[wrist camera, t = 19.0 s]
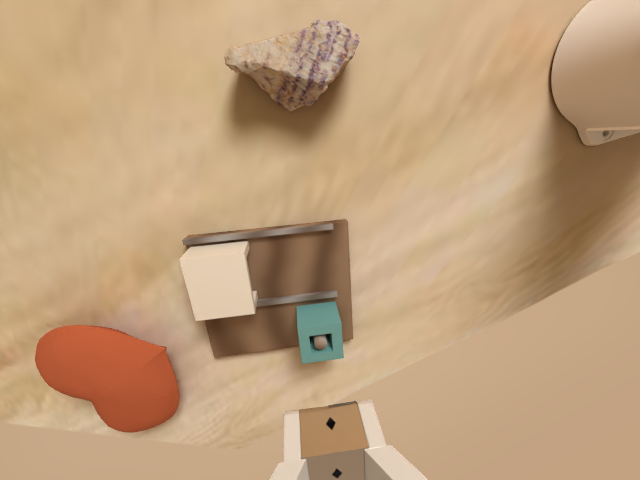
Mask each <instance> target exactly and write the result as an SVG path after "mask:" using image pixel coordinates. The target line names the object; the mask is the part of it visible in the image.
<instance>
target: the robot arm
mask: <svg viewBox="0 0 640 480" xmlns="http://www.w3.org/2000/svg"><path fill="white" fill-rule="evenodd" d="M551 85H552V93H553V97H554V100H555V103H556V105H557V107H558V109H559V111H560V112H561V114H562V115H563V116H564V117H565V118H566V119H567V120H568V121H570V122H571V123H572V124H573V125H574V126H575V127H576V128H577V131H578V133H579V136H580V138H581V141H582V142H583V144H584V145H586V146H593V145H600V144H603V143H606V142H610V141H613V140H616V139H620V138H623V137H626V136H630V135H633V134H636V133H640V0H591V1H590V2H589V3H588V4H587V5H586V6H584V7H583V8H582V9H581V11H580V12H579V13H578V14H577V15H576V16H575V17H574V19H573V20H572V21H571V23H570V24H569V26H568V27H567V29H566V31H565V33H564V34H563V36H562V38H561V40H560V43H559V45H558V48H557V50H556V54H555V57H554V61H553V66H552V75H551ZM269 480H428V479H427V478H426V477H424V476H423V474H421V473H420V472H419V471H418V470H417V469H416V468H415V467H414V466H413V465H412V464H411V463H410V462H409V461H408V460H406V458H404V457H403V456H402V455H401V454H400V453H399V452H398V451H397V450H396V449H395V448H394V447H393V446H391V445H386V442H385V439H384V436H383V433H382V430H381V426H380V424H379V421H378V418H377V414H376V411H375V408H374V405H373V402H372V400H371V399H369V400H362V401H357V402H356V401H353V402H347V403H341V404H335V405H329V406H325V407H317V408H308V409H300V410H293V411H285V412H284V423H283V462H281V463H278V464H277V466H276V468H275V470H274V472H273V473H272V475H271V477H270V478H269Z"/></svg>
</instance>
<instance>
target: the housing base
mask: <svg viewBox="0 0 640 480" xmlns="http://www.w3.org/2000/svg"><path fill="white" fill-rule="evenodd" d="M182 241H183V245H186V246H187V250H188V249H189V248H190V247H195V246H204V245H214V244H223V243H233V242H242V241H248V242H249V248H250V249H249V252H248V255H247V264H248V269H249V275H250V281H251V286H252V291H257V295H258V300H257V305H256V311H255V314H249V315H241V316H233V317H225V318H217V319H209V320H205V322H206V326H207V330H208V334H209V338H210V342H211V346H212V350H213V354H214V357H222V356H229V355H237V354H244V353H252V352H259V351H267V350H275V349H282V348H290V347H297V346H300V344H299V336H298V328H297V309H296V306H302V305H310V304H318V303H326V302H334V301H335V302H336V306H337V309H338V313H339V316H340V320H341V323H342V339H343V340H350V339H353V325H352V303H351V280H350V257H349V235H348V221H347V220H346V219H344V220H335V221H325V222H315V223H305V224H296V225H286V226H276V227H267V228H257V229H247V230H237V231H228V232H218V233H208V234H199V235H189V236H187V237H186V238H184V239H183V240H182ZM313 337H314V344H315V347H316V348H317V349H324V348H326V346H327V339H326V334H322V335H315V336H313Z"/></svg>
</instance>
